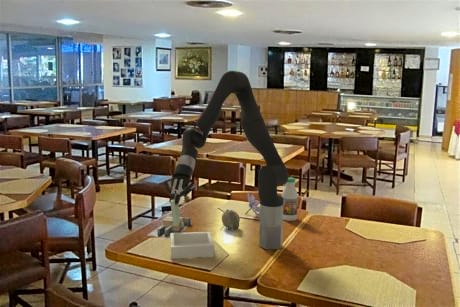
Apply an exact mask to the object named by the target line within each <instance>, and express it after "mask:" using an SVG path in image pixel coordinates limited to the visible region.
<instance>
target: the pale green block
mask: <svg viewBox="0 0 460 307" xmlns="http://www.w3.org/2000/svg"><path fill="white" fill-rule="evenodd" d="M175 197H176V196H175ZM175 197H174V199H173V200H171V204H170V208H171V216H172V219H173V226H177V225H178V224H179V223H180V217H181V215H180V214H181V213H180V205H179V204H177V205H175Z"/></svg>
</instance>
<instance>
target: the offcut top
mask: <svg viewBox="0 0 460 307" xmlns="http://www.w3.org/2000/svg"><path fill="white" fill-rule="evenodd" d="M181 223H182V218H180V223H179V224H178V225H177V226H179V225H180V224H181ZM162 224H163V225H173V219H172V217H166V216H165V217H164V218H163V219H162Z"/></svg>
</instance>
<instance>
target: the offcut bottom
mask: <svg viewBox="0 0 460 307" xmlns="http://www.w3.org/2000/svg"><path fill="white" fill-rule="evenodd" d="M160 226H163V223H161V225H160ZM169 226H172V230H177V231H179V230H180V229H181V228H182V227H184V222H182V223H181V224H180V225H179V226H173V225H165V229H166V228H168V227H169Z"/></svg>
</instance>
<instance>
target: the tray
mask: <svg viewBox="0 0 460 307" xmlns="http://www.w3.org/2000/svg"><path fill="white" fill-rule="evenodd" d="M169 240H170V241H169V242H170V258H171V260H175V259H195V258H196V259H197V257H202V258H215V244H214V241H213V238H212V234H211V232H210V231H196V232H193V231H192V232H191V231H189V232H181V233H170V238H169Z"/></svg>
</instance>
